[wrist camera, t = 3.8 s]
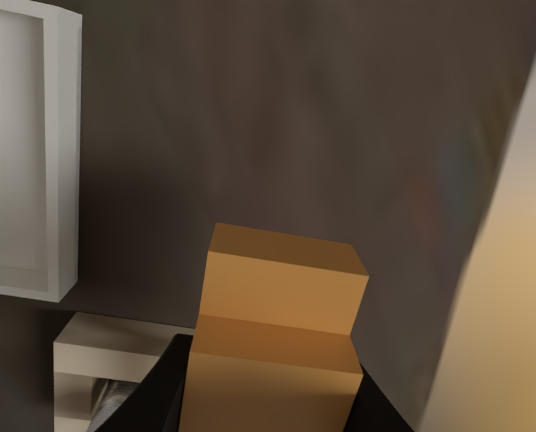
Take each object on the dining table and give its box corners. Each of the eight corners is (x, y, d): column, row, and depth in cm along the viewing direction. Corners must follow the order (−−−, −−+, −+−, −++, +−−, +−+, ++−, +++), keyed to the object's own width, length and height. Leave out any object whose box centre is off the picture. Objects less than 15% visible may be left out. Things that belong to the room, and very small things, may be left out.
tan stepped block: (216, 222, 11) (199, 281, 8) (351, 244, 12) (387, 309, 9) (188, 409, 14) (167, 509, 11) (298, 422, 15) (309, 522, 11)
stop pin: (118, 378, 22) (70, 480, 17) (119, 352, 22) (70, 450, 16) (151, 382, 22) (115, 485, 17) (154, 357, 22) (117, 455, 16)
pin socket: (75, 403, 23) (54, 440, 21) (77, 311, 20) (53, 342, 18) (187, 417, 23) (179, 455, 21) (201, 329, 21) (194, 361, 19)
